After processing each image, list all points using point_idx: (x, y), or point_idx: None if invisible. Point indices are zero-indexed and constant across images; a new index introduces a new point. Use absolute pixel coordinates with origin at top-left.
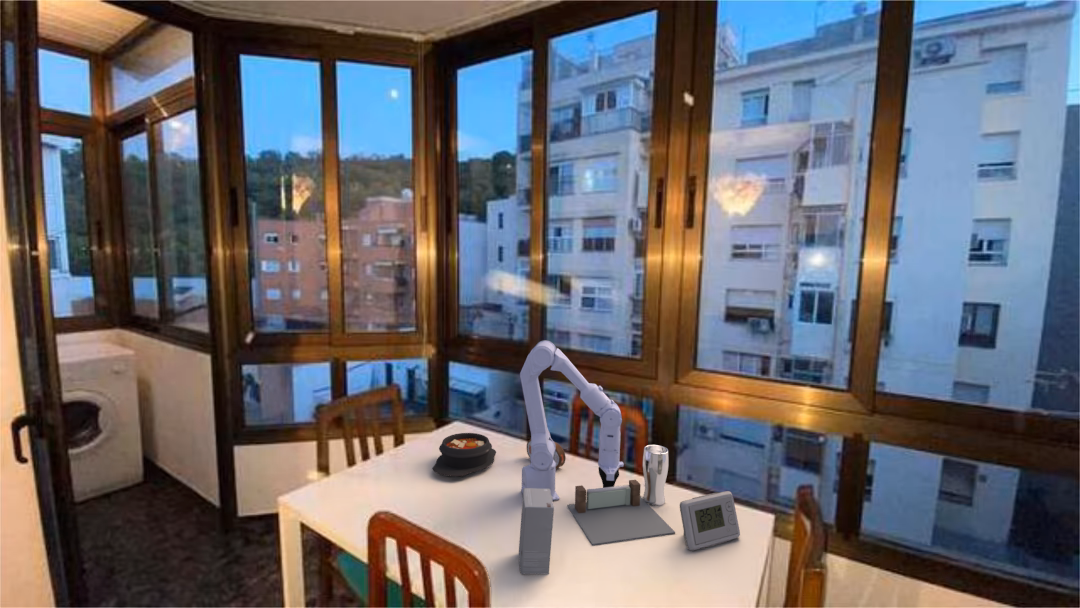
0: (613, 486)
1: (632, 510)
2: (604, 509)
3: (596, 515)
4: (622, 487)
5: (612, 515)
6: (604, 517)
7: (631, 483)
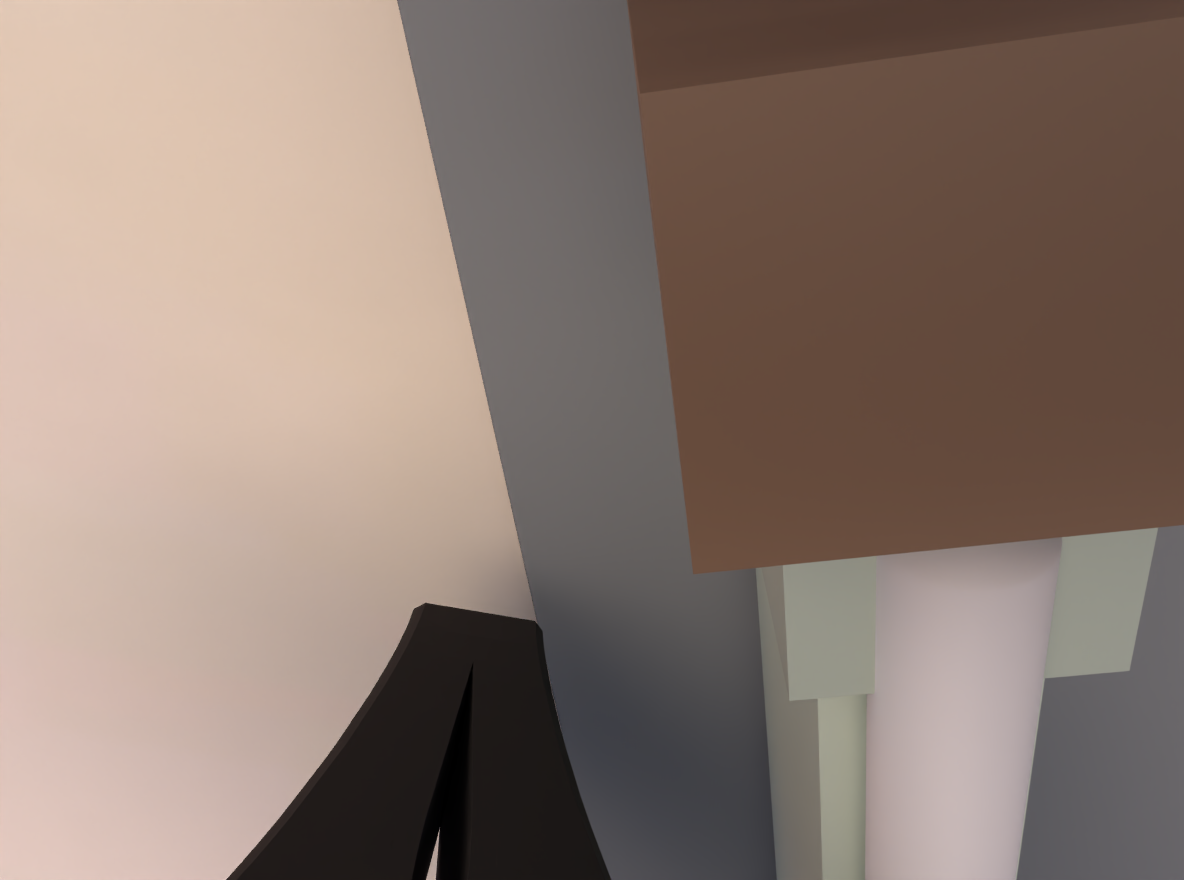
0: (589, 833)
1: None
2: None
3: (1065, 869)
4: (1020, 799)
5: (1175, 665)
6: (1180, 788)
7: (1054, 511)
